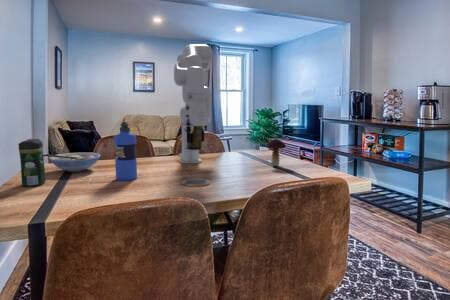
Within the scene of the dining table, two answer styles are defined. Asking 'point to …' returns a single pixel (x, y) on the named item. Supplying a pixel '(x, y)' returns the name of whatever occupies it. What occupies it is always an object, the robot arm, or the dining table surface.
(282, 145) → the decorative mushroom
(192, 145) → the condiment
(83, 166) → the ramen bowl
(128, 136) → the water bottle
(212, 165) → the dining table surface
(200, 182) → the coaster
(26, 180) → the coffee jar
